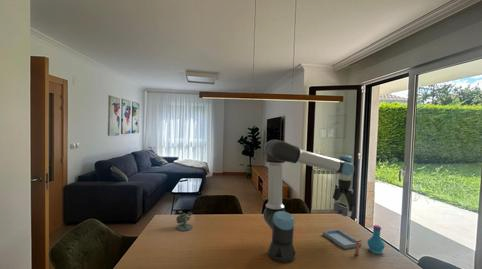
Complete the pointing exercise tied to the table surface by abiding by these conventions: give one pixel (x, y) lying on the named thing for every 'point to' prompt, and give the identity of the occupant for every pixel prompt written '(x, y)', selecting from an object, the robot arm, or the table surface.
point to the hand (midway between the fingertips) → (342, 212)
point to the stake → (357, 246)
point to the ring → (341, 208)
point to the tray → (341, 238)
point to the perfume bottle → (376, 241)
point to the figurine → (182, 219)
